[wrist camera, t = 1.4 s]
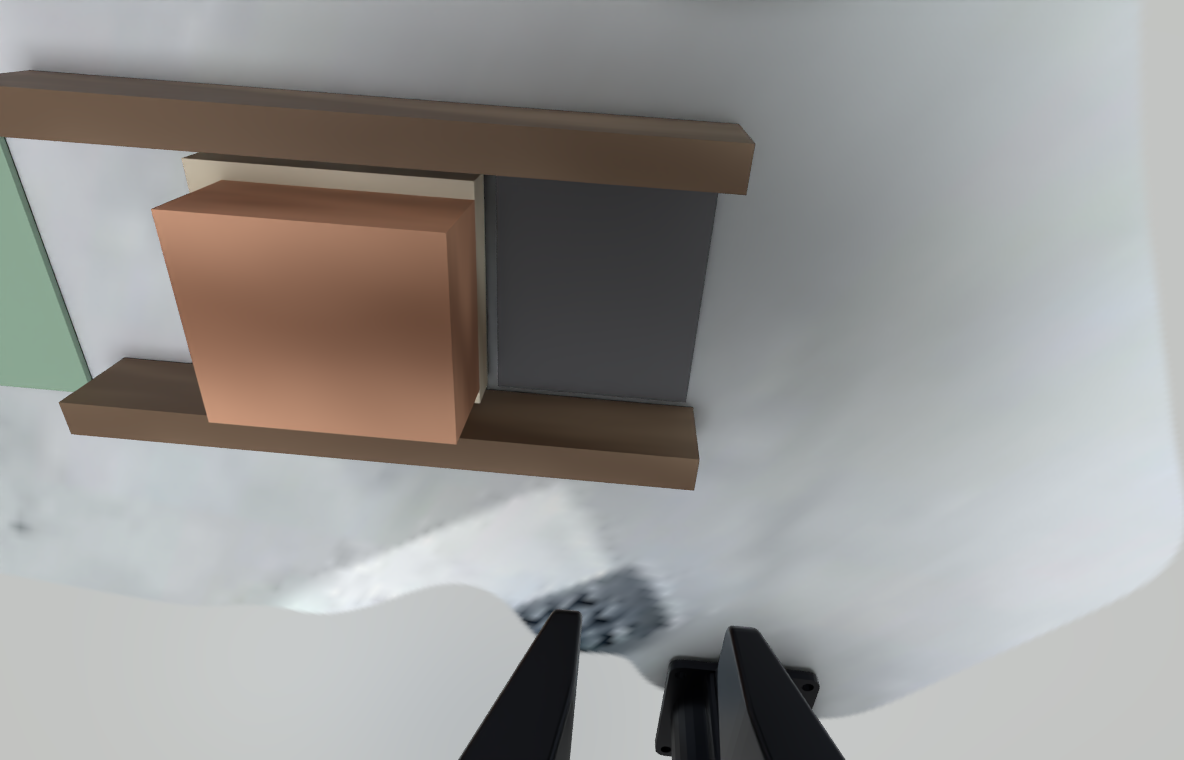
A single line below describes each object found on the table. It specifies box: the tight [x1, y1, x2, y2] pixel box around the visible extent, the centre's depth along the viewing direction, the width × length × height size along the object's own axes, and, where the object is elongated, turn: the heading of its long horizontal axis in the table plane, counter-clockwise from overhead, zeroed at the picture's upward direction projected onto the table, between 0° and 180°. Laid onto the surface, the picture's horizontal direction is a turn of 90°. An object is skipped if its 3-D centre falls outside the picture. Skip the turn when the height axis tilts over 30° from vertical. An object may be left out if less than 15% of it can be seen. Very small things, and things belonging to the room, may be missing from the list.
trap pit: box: [496, 176, 718, 402], centre depth 21 cm, size 7×6×1 cm
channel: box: [0, 70, 755, 490], centre depth 20 cm, size 10×20×3 cm, turn 87°
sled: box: [151, 152, 488, 445], centre depth 19 cm, size 7×8×4 cm
